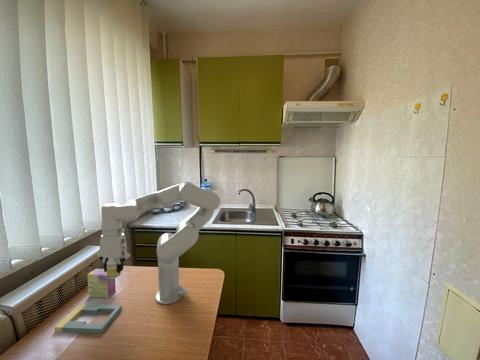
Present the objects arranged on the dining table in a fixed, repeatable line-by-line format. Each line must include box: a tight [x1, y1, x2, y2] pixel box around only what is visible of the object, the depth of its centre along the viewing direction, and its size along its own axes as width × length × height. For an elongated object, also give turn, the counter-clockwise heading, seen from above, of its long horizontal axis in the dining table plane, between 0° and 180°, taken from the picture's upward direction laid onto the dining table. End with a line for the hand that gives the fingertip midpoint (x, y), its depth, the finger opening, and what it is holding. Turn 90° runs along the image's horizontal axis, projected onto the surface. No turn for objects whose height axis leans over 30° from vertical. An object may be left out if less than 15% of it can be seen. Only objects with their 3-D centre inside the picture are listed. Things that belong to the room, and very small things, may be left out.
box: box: [87, 268, 117, 299], centre depth 104 cm, size 10×6×12 cm, turn 84°
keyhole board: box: [53, 303, 123, 335], centre depth 88 cm, size 19×13×2 cm
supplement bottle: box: [107, 258, 122, 279], centre depth 93 cm, size 5×5×10 cm
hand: (113, 270), depth 93 cm, fingers closed on supplement bottle, 5 cm apart
